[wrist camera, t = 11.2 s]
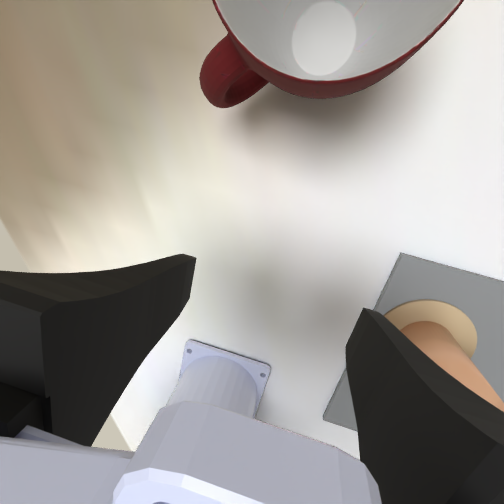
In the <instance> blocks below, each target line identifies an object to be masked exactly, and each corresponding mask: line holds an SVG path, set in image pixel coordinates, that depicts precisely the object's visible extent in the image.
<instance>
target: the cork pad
mask: <svg viewBox="0 0 504 504" xmlns="http://www.w3.org/2000/svg"><path fill="white" fill-rule="evenodd" d="M383 316H384V317H386V318H387V319H388V320H389V321H390V322H391V323H392V324H393V325H394V326H396V327H397V328H398V329H399V330H401V329H402V328H404V327H405V326H407V325H409V324H411V323H414V322H419V321H431V322H435V323H438V324H441V325H442V326H444V327H445V328H447V329H448V330H449V332H450V333H451V334H452V336H453V337H454V338H455V340H456V341H457V342H458V343H459V345H460V346H461V347H462V349H463V350H464V351H465V353H466V354H467V355H468V357H469V358H470V359H471V357H472V356H473V354H474V352H475V349H476V346H477V332H476V329H475V327H474V325H473V323H472V321H471V320H470V319H469V318H468V317H467V316H466V314H464V313H463V312H462V311H461V310H460V309H458V308H457V307H455V306H453V305H451V304H449V303H446V302H443V301H439V300H432V299H420V300H413V301H409V302H405V303H402V304H400V305H398V306H396V307H394V308H392V309H391V310H389V311H388V312H387V313H385V314H384V315H383Z"/></svg>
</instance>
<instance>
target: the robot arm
mask: <svg viewBox="0 0 504 504" xmlns="http://www.w3.org/2000/svg"><path fill="white" fill-rule="evenodd" d="M195 263H196V258H195V257H192V256H189V255H185V254H179V255H174V256H170V257H166V258H162V259H159V260H155V261H151V262H147V263H143V264H138V265H133V266H129V267H124V268H118V269H112V270H104V271H95V272H79V273H25V272H12V271H11V272H10V271H0V504H504V412H503V411H501V410H500V409H498V408H497V407H495V406H494V405H492V404H491V403H489V402H488V401H486V400H485V399H483V398H482V397H480V396H479V395H477V394H476V393H474V392H473V391H472V390H470V389H469V388H467V387H466V386H465V385H463V384H462V383H461V382H459V381H458V380H457V379H455V378H454V377H453V376H451V375H450V374H449V373H447V372H446V371H445V370H444V369H442V368H441V367H440V366H439V365H437V364H436V363H435V362H434V361H433V360H432V359H430V358H429V357H428V356H427V355H426V354H425V353H423V352H422V351H421V350H420V349H419V348H418V347H417V346H416V345H415V344H414V343H412V342H411V341H410V340H409V339H408V338H407V337H406V336H405V335H404V334H403V333H402V332H401V331H400V330H399V329H398V328H397V327H396V326H394V325H393V324H392V323H391V322H390V321H389V320H388V319H387V318H386V317H384V316H383V315H382V314H381V313H379V312H377V311H373V310H370V309H367V308H363V310H362V312H361V314H360V316H359V318H358V321H357V323H356V325H355V327H354V329H353V332H352V334H351V336H350V338H349V340H348V342H347V345H346V370H347V376H348V381H349V387H350V392H351V397H352V402H353V408H354V413H355V418H356V423H357V430H358V439H359V451H360V461H359V460H358V459H356V458H354V457H352V456H351V455H349V454H347V453H345V452H344V451H342V450H340V449H338V448H337V447H335V446H332V445H329V444H326V443H323V442H321V441H318V440H315V439H312V438H309V437H306V436H303V435H300V434H297V433H294V432H291V431H288V430H285V429H283V428H280V427H277V426H274V425H271V424H268V423H265V422H262V421H259V420H256V419H254V417H255V414H256V412H257V409H258V406H259V403H260V400H261V397H262V394H263V391H264V388H265V385H266V382H267V379H268V376H269V373H270V367H269V366H268V365H267V364H264V363H261V362H258V361H255V360H252V359H248V358H245V357H242V356H239V355H236V354H233V353H230V352H227V351H224V350H221V349H218V348H215V347H211V346H208V345H205V344H202V343H199V342H196V341H193V340H188V341H187V342H186V344H185V349H184V354H183V360H182V366H181V371H180V377H179V382H178V384H177V386H176V388H175V390H174V392H173V394H172V395H171V397H170V399H169V401H168V403H167V404H166V406H165V407H164V408H161V409H160V410H159V412H158V413H157V415H156V417H155V419H154V420H153V422H152V424H151V425H150V427H149V429H148V431H147V432H146V434H145V436H144V438H143V440H142V441H141V443H140V445H139V446H138V448H137V450H136V452H133V451H124V450H115V449H106V448H97V447H91V446H92V444H93V442H94V440H95V438H96V437H97V435H98V433H99V431H100V430H101V428H102V426H103V425H104V423H105V421H106V419H107V418H108V416H109V414H110V413H111V411H112V409H113V408H114V406H115V404H116V403H117V401H118V400H119V398H120V396H121V395H122V393H123V391H124V390H125V388H126V387H127V385H128V383H129V382H130V380H131V379H132V377H133V376H134V374H135V373H136V371H137V369H138V368H139V366H140V365H141V363H142V362H143V360H144V359H145V358H146V356H147V355H148V354H149V352H150V351H151V350H152V349H153V347H154V346H155V345H156V344H157V343H158V341H159V340H160V339H161V338H162V336H163V335H164V334H165V333H166V332H167V330H168V329H169V328H170V327H171V325H172V324H173V323H174V322H175V320H176V319H177V318H178V316H179V315H180V313H181V312H182V310H183V308H184V307H185V305H186V303H187V302H188V300H189V298H190V292H191V286H192V280H193V275H194V269H195ZM189 349H191V350H192V351H190V350H189ZM261 373H264V374H261Z"/></svg>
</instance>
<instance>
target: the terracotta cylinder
mask: <svg viewBox="0 0 504 504" xmlns="http://www.w3.org/2000/svg"><path fill="white" fill-rule="evenodd" d="M400 331H401V332H402V333H403V334H404V335H405V336H406V337H407V338H408V339H409V340H410V341H411V342H412V343H414V344H415V345H416V346H417V347H418V348H419V349H420V350H421V351H422V352H423V353H425V354H426V355H427V356H428V357H429V358H430V359H432V360H433V361H434V362H435V363H436V364H437V365H439V366H440V367H441V368H442V369H444V370H445V371H446V372H447V373H449V374H450V375H451V376H453V377H454V378H455V379H457V380H458V381H459V382H461V383H462V384H463V385H465V386H466V387H467V388H469V389H470V390H472V391H473V392H474V393H476V394H477V395H479V396H480V397H482V398H483V399H485V400H486V401H488V402H489V403H491V404H492V405H494V406H495V407H497V408H498V409H500V410H501V411H503V412H504V403H503V401H502V400H501V399H500V397H499V396H498V395H497V393H496V392H495V391H494V389H493V388H492V387H491V385H490V384H489V383H488V381H487V380H486V379H485V378H484V376H483V375H482V374H481V372H480V371H479V370H478V368H477V367H476V366H475V364H474V363H473V362H472V360H471V359H470V358H469V357H468V355H467V354H466V353H465V351H464V350H463V349H462V347H461V346H460V345H459V343H458V342H457V341H456V340H455V338H454V337H453V336H452V334H451V333H450V332H449V330H448V329H447V328H445V327H444V326H442V325H441V324H438V323H435V322H431V321H419V322H414V323H411V324H409V325H407V326H405V327H404V328H402V329H401V330H400Z"/></svg>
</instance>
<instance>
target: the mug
mask: <svg viewBox="0 0 504 504" xmlns="http://www.w3.org/2000/svg"><path fill="white" fill-rule="evenodd" d="M212 1H213V4H214V6H215V9H216V11H217V13H218V15H219V17H220V19H221V21H222V23H223V24H224V26H225V28H226V29H227V31H228V34H227V36H226V37H224V38H223V39H222V40H221V41H220V42H219V43H218V44H217V45H216V46H215V47H214V48H213V49H212V50H211V51H210V53H209V54H208V55H207V57H206V59H205V60H204V62H203V65H202V68H201V72H200V77H199V78H200V85H201V89H202V91H203V93H204V95H205V96H206V98H207V99H208V101H209V102H210V103H211V104H213V105H214V106H216V107H219V108H229V107H232V106H234V105H237V104H239V103H241V102H243V101H245V100H246V99H248V98H249V97H251V96H252V95H254V94H255V93H256V92H258V91H259V90H260V89H261V88H263V87H264V86H265V85H266V84H267V83H269V82H270V83H271V84H273V85H275V86H276V87H278V88H280V89H282V90H284V91H286V92H289V93H291V94H294V95H297V96H301V97H306V98H315V99H326V98H335V97H341V96H345V95H349V94H352V93H355V92H357V91H360V90H363V89H365V88H367V87H369V86H371V85H373V84H375V83H376V82H378V81H380V80H381V79H383V78H385V77H386V76H388V75H389V74H391V73H392V72H393V71H395V70H396V69H397V68H399V67H400V66H401V65H402V64H404V63H405V62H406V61H407V60H408V59H409V58H410V57H412V56H413V55H414V54H415V53H416V52H417V51H418V50H419V49H420V48H421V47H422V46H423V45H424V44H425V43H427V42H428V41H429V40H430V39H431V38H432V37H433V36H434V35H435V33H436V32H437V31H438V30H439V29H440V28H441V27H442V26H443V25H444V24H445V23H446V22H447V21H448V20H449V19H450V17H451V16H452V15H453V14H454V13H455V12H456V10H457V9H458V8H459V6H460V5H461V4H462V2H463V1H464V0H212Z"/></svg>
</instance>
